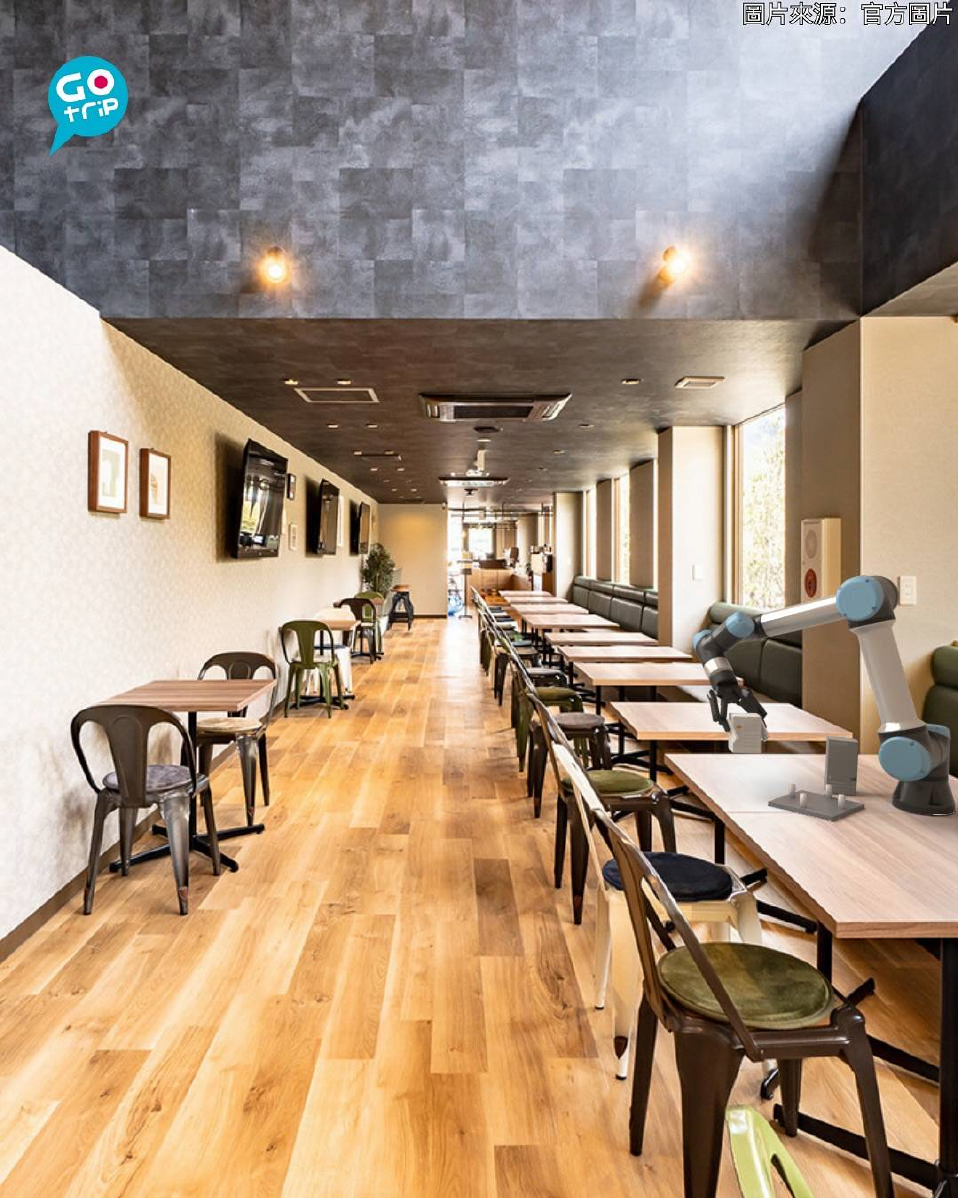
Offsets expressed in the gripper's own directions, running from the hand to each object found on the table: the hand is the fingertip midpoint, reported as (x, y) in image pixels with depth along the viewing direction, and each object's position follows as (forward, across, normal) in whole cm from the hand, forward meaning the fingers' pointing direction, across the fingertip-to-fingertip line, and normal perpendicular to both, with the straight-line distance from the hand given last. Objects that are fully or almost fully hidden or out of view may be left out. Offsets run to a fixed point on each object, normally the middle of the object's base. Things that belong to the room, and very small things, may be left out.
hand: (751, 740), depth 233 cm
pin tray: (+20, -13, -4) cm, 24 cm away
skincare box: (+12, -30, -12) cm, 34 cm away
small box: (+1, 0, -5) cm, 5 cm away
